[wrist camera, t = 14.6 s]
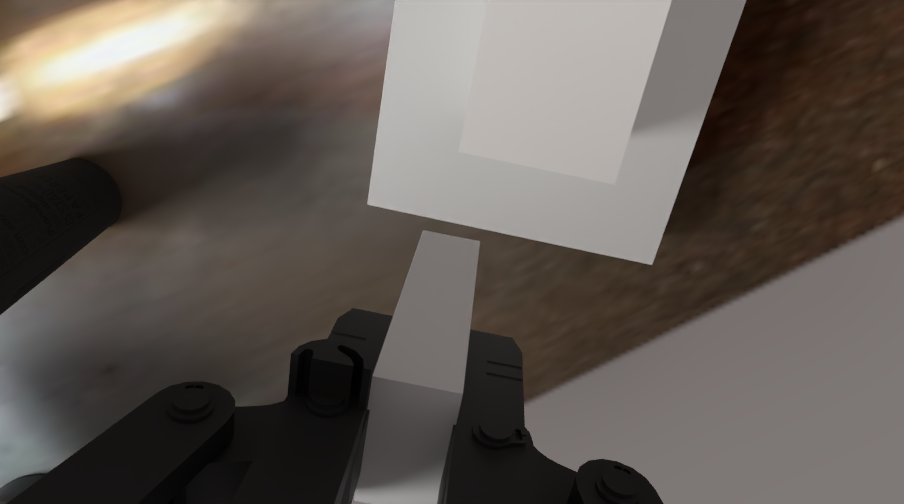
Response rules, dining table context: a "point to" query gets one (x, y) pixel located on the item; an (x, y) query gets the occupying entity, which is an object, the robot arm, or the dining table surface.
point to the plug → (561, 82)
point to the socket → (526, 188)
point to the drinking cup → (50, 221)
